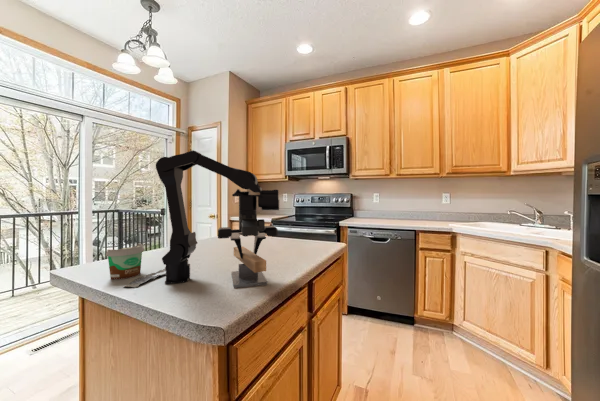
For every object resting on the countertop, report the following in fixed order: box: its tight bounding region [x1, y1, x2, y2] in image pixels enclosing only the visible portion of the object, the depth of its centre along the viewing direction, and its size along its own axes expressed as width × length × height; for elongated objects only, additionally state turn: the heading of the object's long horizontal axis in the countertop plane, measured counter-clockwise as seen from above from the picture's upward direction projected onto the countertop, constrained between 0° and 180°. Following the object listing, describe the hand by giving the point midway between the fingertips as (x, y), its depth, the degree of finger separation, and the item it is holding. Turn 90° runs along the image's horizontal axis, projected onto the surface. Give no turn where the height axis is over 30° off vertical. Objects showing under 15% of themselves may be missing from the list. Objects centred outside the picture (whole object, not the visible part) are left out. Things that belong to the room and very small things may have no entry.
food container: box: [105, 243, 145, 280], centre depth 89 cm, size 12×6×10 cm, turn 164°
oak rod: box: [233, 245, 267, 273], centre depth 85 cm, size 4×24×3 cm, turn 28°
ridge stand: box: [230, 263, 268, 289], centre depth 85 cm, size 10×14×5 cm
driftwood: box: [124, 266, 166, 288], centre depth 87 cm, size 21×7×2 cm, turn 166°
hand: (248, 258), depth 85 cm, fingers closed on oak rod, 4 cm apart
